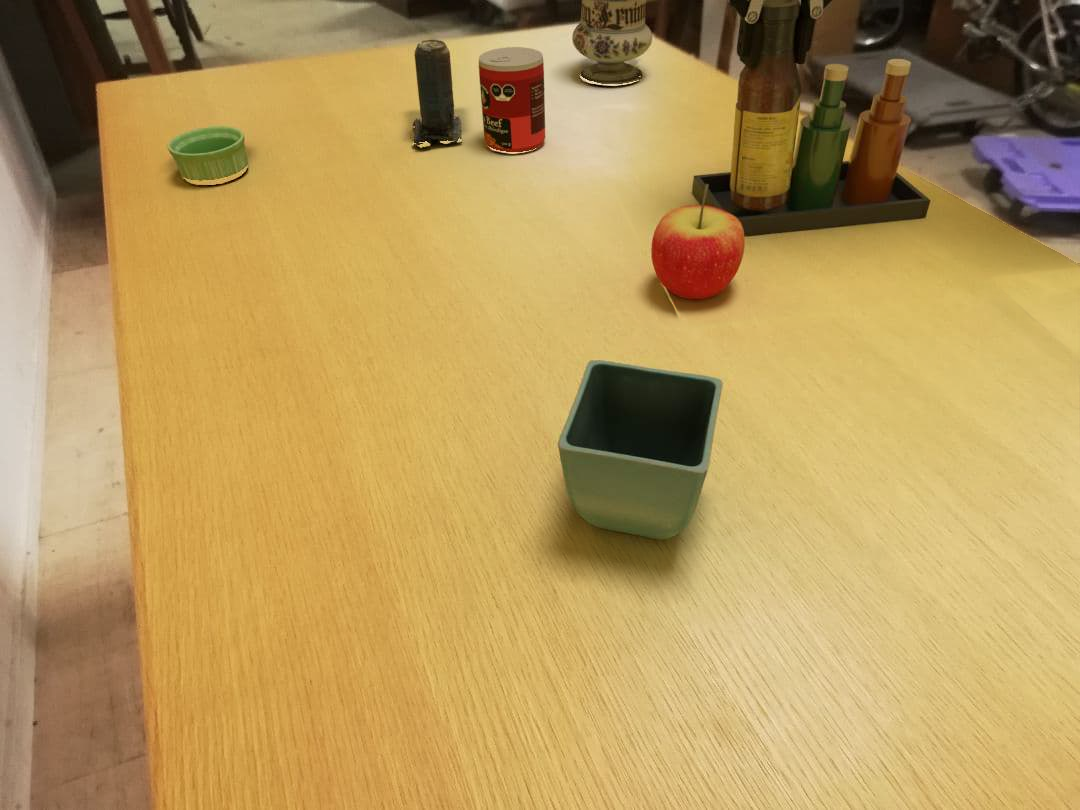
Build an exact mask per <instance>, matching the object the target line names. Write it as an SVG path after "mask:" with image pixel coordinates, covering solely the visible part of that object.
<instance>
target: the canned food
mask: <svg viewBox="0 0 1080 810" xmlns="http://www.w3.org/2000/svg"><path fill="white" fill-rule="evenodd" d="M544 63H545V62H544V54H543V53H542V51H539V50H538V49H535V48H530V47H523V46H509V47H507V46H505V47H499V48H494V49H490V50H487V51H485V52H483V53H482V54H480V55H479V56H478V76H479V89H480V101H481V114H482V126H483V138H484V142H485V144H487V145H488V146H489V147H491V148H493V149H496V150H500V151H506V152H523V151H529V150H533V149H535V148H538V147H539V146H541V145H542V144H543V145H544V143H545V140H546V108H545V105H546V103H545V101H546V100H545V99H546V98H545V67H544V66H545V65H544ZM487 145H486V146H487ZM543 145H542V146H543ZM542 146H541V147H542Z"/></svg>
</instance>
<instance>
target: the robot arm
mask: <svg viewBox="0 0 1080 810" xmlns="http://www.w3.org/2000/svg"><path fill="white" fill-rule="evenodd" d="M832 1H833V0H799V2H800V9H799V16H798V18H797V20H796V29H795V36H794V48H793V49H794V54H795V63H796V64H797V65H804V64H805V62H806V58H807V53H809V51H810V50H811V47H812V42H813V37H814V31H815V26H816V20H817V19H819V18H820V17H821V16H822V15H823V13H824V10H825V9H826V7H827V6H829V4H830V3H831V2H832ZM726 2H727V3H728V4H729V5H730V7H731V8H732V9H733V10H734V12H735V13H736V14H737V16H738V17H740V19H739V28H738V33H737V34H738V35H737V44H736V54H737V56H738V58H739V61H740V62H741V63H742V64H743V65H744V66H745V65H746V66H747V67H748V68H749V69H750V68H755V67H756V66H758V60H759V53H760V46H761V39H762V32H763V24H762V23H760V22H759V18H760V12H761V9H762V5H763V2H764V0H726Z"/></svg>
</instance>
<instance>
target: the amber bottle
mask: <svg viewBox="0 0 1080 810" xmlns="http://www.w3.org/2000/svg"><path fill="white" fill-rule="evenodd" d="M911 66H912V62H911V61H909V60H907V59H904V58H892V59H889V60H887V63H886V67H885V70H884V71H885V74H884V79H883V84H882V86H881V91H880V93H875V94H874V95H873V98H872V101H871V105H870V109H867V110H864V111H862V112H860V114H859V117H858V122H857V125H856V130H855V135H854V139H853V142H852V148H851V152H850V155H849V160H848V161H849V164H848V168H847V172H846V177H845V181H844V185H843V189H842V194H841V198H842V199H843V200H844V201H845V202H846V203H848V204H850V205H853V206H854V205H864V204H873V203H883V202H888V201H889V198H890V194H891V191H892V187H893V183H894V180H895V176H896V173H898V169H899V166H900V161H901V158H902V155H903V150H904V146H905V143H906V140H907V137H908V132H909V129H910V125H911V122H912V119H911V117H910V116H909V115H908V114H906V113H904V112H905V109H906V106H907V105H906V104H907V101H908V99H907V97H906V96H904V95H903V91H904V88H905V85H906V81H907V76H908V74H909V73H910V70H911Z"/></svg>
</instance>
